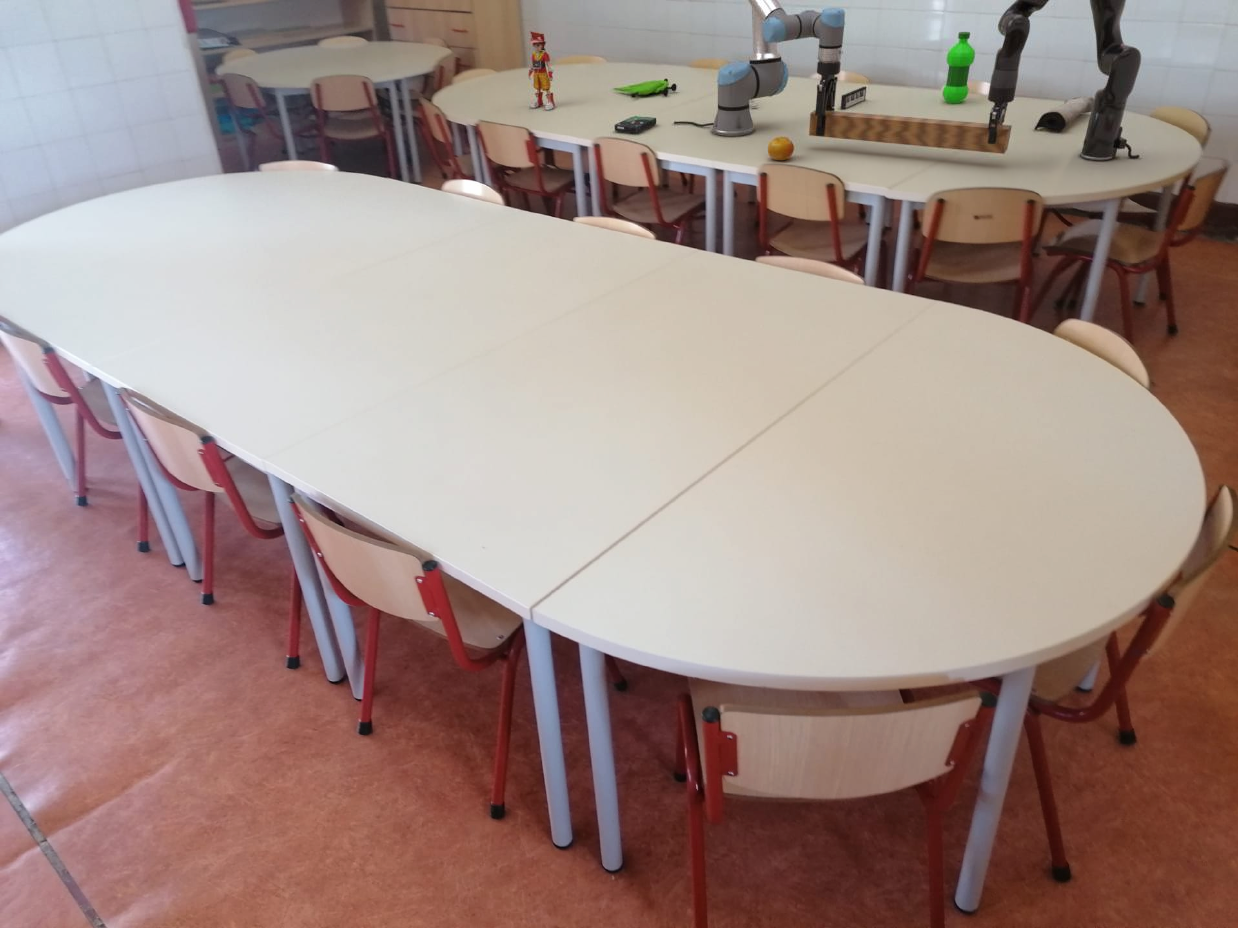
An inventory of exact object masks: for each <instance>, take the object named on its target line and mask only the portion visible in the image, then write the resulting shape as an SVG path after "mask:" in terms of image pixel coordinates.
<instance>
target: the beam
mask: <svg viewBox="0 0 1238 928" xmlns="http://www.w3.org/2000/svg"><path fill="white" fill-rule="evenodd" d="M815 111H816V109H814V110H813V111H812V112H810V114H809V115H810V116H809V130H808V133H809V134H808V136H810V137H819V138H820V137H821V138H822V137H823V138H829V139H830V138H831V139H842V140H850V141H851V140H852V141H853V140H854V141H862V142H863V141H864V142H873V143H874V142H875V143H884V144H894V145H905V146H916V147H928V148H936V149H937V148H938V149H948V150H957V151H959V150H960V151H971V152H979V153H989V154H1001V155H1004V154H1005V153H1006V152H1007V151H1008V148H1009V143H1010V138H1011V133H1012V126H1013V125H1011V124H1003V125H1001V124H999V127H998V131H997V136H996V141H995V143H994V144H988V137H989V131H988V126H989V122H987V123H986V122H974V121H963V120H949V119H940V118H939V119H937V118H925V117H913V116H902V115H901V116H900V115H899V116H898V115H890V114H889V115H887V114H876V113H865V112H864V113H862V112H852V111H851V112H850V111H837V110H834V111H827V110H826V111H825V116H826V121H825V132H824V136H820V135H816V128H817V116H815ZM992 127H995V124H992Z"/></svg>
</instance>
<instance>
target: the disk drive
mask: <svg viewBox="0 0 1238 928" xmlns="http://www.w3.org/2000/svg"><path fill="white" fill-rule="evenodd" d="M656 125H657V117H652V116H651V117H650V116H637V115H633V116H630V117H628V118H626V119H624V120H621V121H619V122H618V123H615V124H614V132H617V133H618V132H619V133H626V134H635V135H637V134H639V133H642V132H644V131H646V130H647V129H651V128H653V127H654V126H656Z"/></svg>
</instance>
